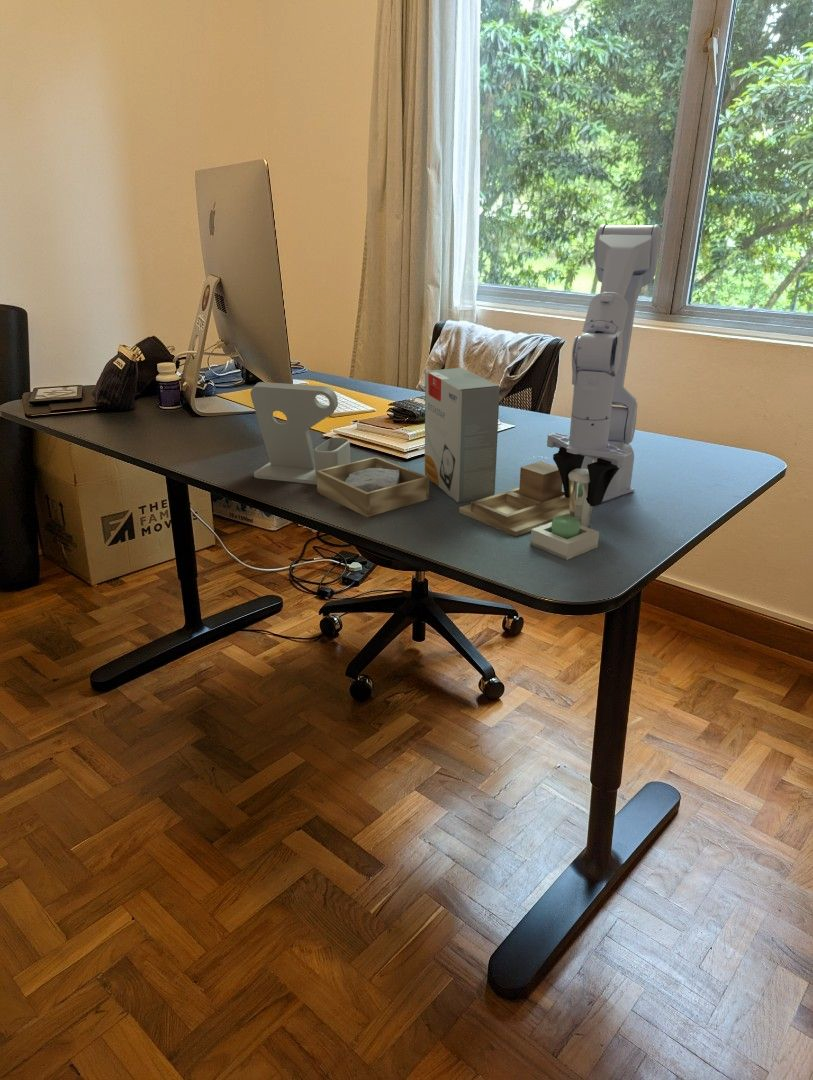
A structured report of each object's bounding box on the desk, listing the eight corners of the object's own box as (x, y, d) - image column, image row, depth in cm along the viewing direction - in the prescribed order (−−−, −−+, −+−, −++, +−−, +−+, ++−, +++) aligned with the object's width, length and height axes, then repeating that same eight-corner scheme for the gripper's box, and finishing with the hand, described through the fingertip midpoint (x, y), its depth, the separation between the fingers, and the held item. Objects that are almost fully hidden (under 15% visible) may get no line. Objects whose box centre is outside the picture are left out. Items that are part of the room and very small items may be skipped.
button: (563, 528, 113) (564, 513, 112) (584, 536, 110) (585, 521, 109) (545, 535, 111) (546, 519, 110) (566, 543, 108) (567, 528, 107)
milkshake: (601, 521, 119) (607, 462, 115) (585, 532, 115) (590, 471, 111) (575, 514, 122) (580, 456, 117) (559, 525, 118) (563, 465, 114)
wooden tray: (376, 477, 141) (376, 456, 139) (428, 499, 130) (429, 477, 128) (317, 492, 133) (316, 470, 131) (367, 517, 122) (366, 494, 121)
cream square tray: (561, 532, 116) (562, 518, 115) (597, 547, 111) (599, 531, 110) (530, 544, 112) (531, 529, 111) (566, 560, 107) (568, 544, 106)
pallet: (529, 490, 134) (530, 477, 133) (586, 510, 124) (588, 497, 123) (458, 512, 124) (459, 498, 123) (515, 536, 115) (516, 522, 114)
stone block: (344, 517, 126) (401, 505, 125) (337, 490, 125) (395, 478, 124) (351, 496, 138) (404, 485, 136) (345, 471, 136) (398, 460, 135)
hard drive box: (423, 476, 141) (423, 370, 133) (459, 471, 143) (462, 367, 135) (456, 503, 128) (459, 387, 120) (496, 497, 130) (502, 384, 122)
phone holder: (356, 470, 145) (353, 377, 137) (336, 487, 136) (331, 388, 128) (275, 462, 149) (268, 371, 142) (250, 477, 141) (241, 382, 133)
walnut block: (538, 494, 129) (541, 461, 127) (560, 502, 126) (563, 468, 123) (518, 500, 126) (520, 467, 124) (540, 509, 123) (543, 474, 120)
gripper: (536, 410, 114) (530, 493, 120) (614, 430, 104) (604, 520, 109) (566, 403, 118) (560, 484, 124) (644, 421, 108) (633, 509, 113)
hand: (582, 500), depth 117 cm, fingers closed on milkshake, 4 cm apart
